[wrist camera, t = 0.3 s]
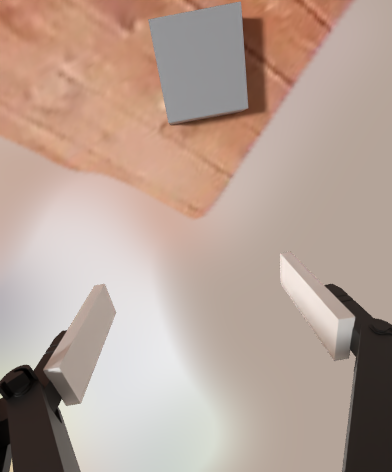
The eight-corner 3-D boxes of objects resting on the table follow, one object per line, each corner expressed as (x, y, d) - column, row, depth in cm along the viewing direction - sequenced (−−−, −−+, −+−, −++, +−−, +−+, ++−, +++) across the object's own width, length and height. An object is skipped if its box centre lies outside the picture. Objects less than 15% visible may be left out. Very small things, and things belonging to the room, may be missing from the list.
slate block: (152, 33, 32) (148, 19, 28) (234, 17, 32) (240, 1, 28) (170, 125, 37) (168, 123, 33) (241, 111, 37) (248, 108, 33)
